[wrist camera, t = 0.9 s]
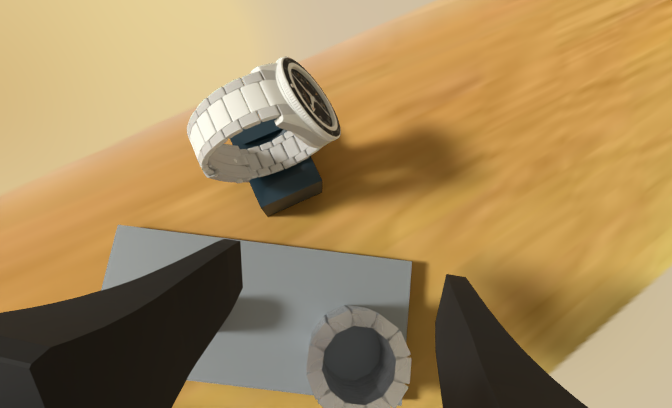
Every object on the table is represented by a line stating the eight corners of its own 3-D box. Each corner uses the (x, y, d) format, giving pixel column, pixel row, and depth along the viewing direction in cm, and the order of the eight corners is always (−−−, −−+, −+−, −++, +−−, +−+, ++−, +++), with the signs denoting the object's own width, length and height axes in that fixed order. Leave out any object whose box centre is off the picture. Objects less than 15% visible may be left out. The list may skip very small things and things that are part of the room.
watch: (345, 181, 27) (362, 113, 17) (244, 227, 26) (192, 186, 15) (314, 117, 28) (310, 15, 18) (215, 159, 27) (147, 77, 16)
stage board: (397, 400, 24) (401, 405, 23) (93, 363, 24) (81, 367, 23) (407, 262, 26) (412, 261, 25) (127, 227, 26) (117, 224, 25)
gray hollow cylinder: (388, 397, 23) (406, 428, 18) (304, 388, 23) (300, 415, 18) (395, 310, 24) (414, 317, 19) (315, 301, 24) (314, 304, 19)
